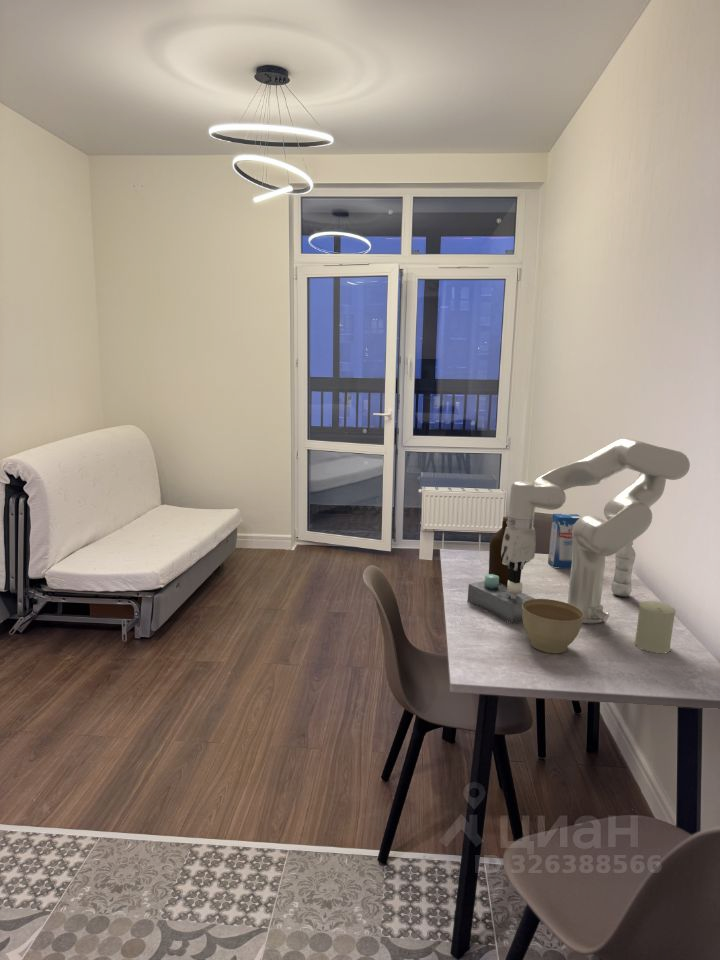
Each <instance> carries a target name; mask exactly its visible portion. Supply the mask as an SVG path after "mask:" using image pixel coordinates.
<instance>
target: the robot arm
mask: <svg viewBox="0 0 720 960" xmlns="http://www.w3.org/2000/svg"><path fill="white" fill-rule="evenodd" d="M690 463H691V462H690V460H689V458H688V456H687V455H686V454H685V453H684V452H681V451H679V450H676V449H670V448H668V447H662V446H657V445H654V444H650V443H647V442H645V441H644V442H643V441H640V440H636V439H632V438H620V439H617V440H616V441H613V442H612V443H609V444H608V445H607V446H604V447H603V448H601V449H599V450H597V451H596V452H594V453H592V454H589V455H588V456H586V457H584V458H583V459H580V460H577V461H574V462H573V461H572V462H571V463H569V464H565V465H562V466H558V467H556V468H554V469H552V470H550V471H548V472H547V473H545V474H543V475H541V476H539V477H537V478H536V479H535V480H533V482H530V481H524V480H522V481H518V480H517V481H513V483H511V487H510V494H509V505H508V515H507V517H508V521H507V522H506V523H507V527H506V530H505V533H504V537H503V543H502V550H501V557H502V558H503V561H502V564H504V565H508V568H510V572H509V581H511V582H513V583H520V581H521V577H522V570H523V569H524V567H525V565H526V564H527V563H529V562H531V560H534V559H535V555H536V554H535V553H536V529H535V527H534V524H535V523H534V522H535V512H536V508H539V509H543V510H547V511H548V510H549V511H550V510H552V511H553V510H557V509H558V510H559V509H560V508H562V507H563V506H564V504H565V503H566V499H567V496H566V493H565V490H568V489H571V488H576V487H586V486H587V487H588V486H589V487H591V486H595V485H599V484H601V483H603V482H604V481H606V480H608V479H610V478H611V477H613V476H615V475H616V474H618V473H620V472H623V471H624V470H625V469H626V470H627V469H628V470H632V471H633V472H634V471H635V472H638V473H639V475H638V477H637V478H636V480H634V482H632V484H630V485H629V486H628V487H626V488H625V489H624V490H622V491H621V492H619V493H618V494H617V495H615V496H614V497H612V498H611V499H610V500H608V502H607V503H606V504H605V506H604V508H603V515H604V517H605V518H606V520H607V521H606V520H604V519H602V518H600V517H598V516H596V515H589V514H588V515H583V516H581V518H579V519H578V520H577V521H576V523H575V524H574V527H573V532H572V540H573V557H572V565H571V568H570V576H569V583H568V584H569V586H568V596H567V603H568V604H571V605H573V606H576V607H577V608H579V609H580V610H582V612H583V613H584V618H583V620H582V624H599V623H602V622H607V621H608V619H609V618H610V613H609V612H606V611H604V605H602V604H601V600H602V593H603V583H604V575H605V567H606V557H608V556H612V555H615V553H616V552H618V551H620V550H621V549H622V548H624V547H625V546H627V545H628V544H629V543H631V542H632V541H633V542H634V541H635V540H637V538H639V537H640V536H641V535H643V534H644V533H645V532H646V531H647V530H648V529H649V528H650V525H651V524H652V522H653V521H652V520H653V513H652V510H651V507H652V506H653V505H654V504H656V503H657V502H658V500H660V498H661V497H662V495H663V494H664V491H665V487H666V482H667V480H670V481H675V480H676V481H678V480H680V479H682V478H683V477H685V476H686V475H687V474H688V472H689V470H690V468H691V467H690V466H691V464H690Z"/></svg>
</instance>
